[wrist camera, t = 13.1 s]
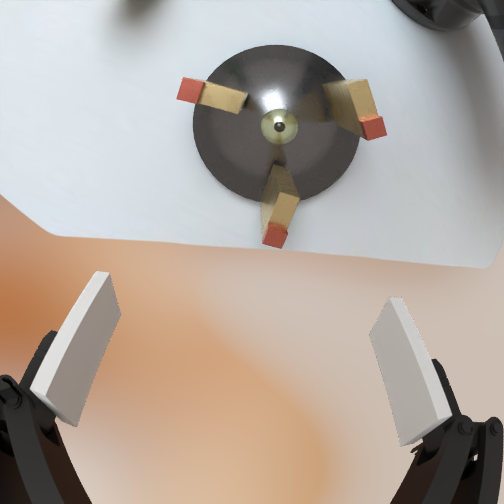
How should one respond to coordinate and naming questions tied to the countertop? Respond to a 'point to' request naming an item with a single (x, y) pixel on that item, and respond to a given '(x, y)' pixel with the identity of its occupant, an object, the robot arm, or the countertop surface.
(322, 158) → the tribrach plate
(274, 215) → the knob
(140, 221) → the countertop surface
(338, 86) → the knob
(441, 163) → the countertop surface
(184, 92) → the knob
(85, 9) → the countertop surface
